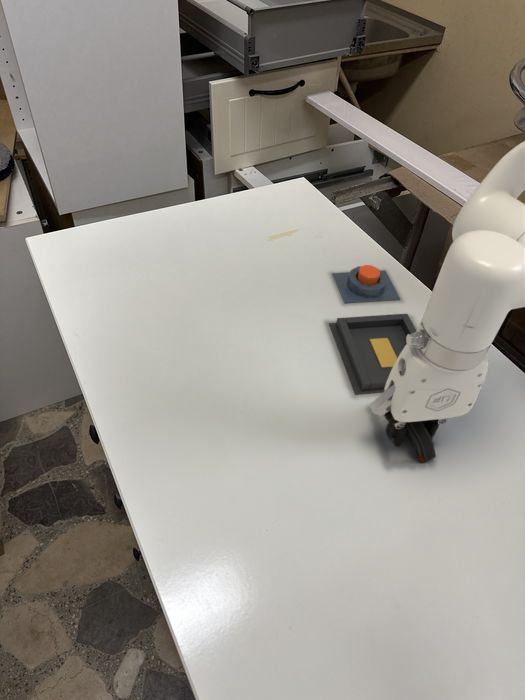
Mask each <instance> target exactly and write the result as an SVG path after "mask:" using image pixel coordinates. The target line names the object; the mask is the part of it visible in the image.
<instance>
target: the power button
mask: <svg viewBox="0 0 525 700" xmlns="http://www.w3.org/2000/svg"><path fill="white" fill-rule="evenodd" d="M360 266H361V265H360ZM379 270H380V269H379V268H378V267H376V266H374V265H372V264H371V265H370V264H365V265H362V266H361V267H360V269H359V272H358V276H357V279H358V281H359V282H361V283H362V284H366V285H375V284H377V283H378V280H379V276H380V271H381V270H380V271H379Z"/></svg>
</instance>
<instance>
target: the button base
mask: <svg viewBox="0 0 525 700" xmlns="http://www.w3.org/2000/svg"><path fill="white" fill-rule="evenodd" d="M360 267H361V265H359V266H356V267H353V268H352V269H351V270H350V271H347V272H333V273H331V275H332V278H333V280H334V283H335V285H336V287H337V290H338V292H339V295H340V296H341V299H342V301H343V303H344V304H361V303H377V302H391V301H392V302H393V301H394V302H395V301H401V297H400V295H399V293H398V292H397V290H396V287H395V286H394V283H393V282H392V280H391V278H390V276H389V274H388V272H387V271H386V270H385V269H384V270H380V269H379V271H380V276H379V280H378V283H377V284H375V285H366V284H362V283H361V282H359V281H358V279H357V276H358V272H359V269H360Z"/></svg>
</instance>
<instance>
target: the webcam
mask: <svg viewBox="0 0 525 700" xmlns="http://www.w3.org/2000/svg"><path fill="white" fill-rule="evenodd" d="M406 428H407V431H406V434H405V435H406V436H407V437H408V439H409V441H410V442H411V445H412V446H413V448H414V451H415V453H416V456H417V459H418V462H419V464H424V463H427V462H429V461H432V460H434V459H436V457H437V455H436V450H435V445H434V442H433V439H431V437H430V435H429V433H428V431H427V430H426V428H425V427H424V425H423V423H422V422H421V421H416V422H407V423H406Z"/></svg>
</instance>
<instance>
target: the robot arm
mask: <svg viewBox="0 0 525 700" xmlns="http://www.w3.org/2000/svg"><path fill="white" fill-rule="evenodd" d="M524 191H525V140H524V141H521V142H520V143H519V144H517V145H516V146H514V147H513V148H512V149H510V150H509V151H508V152H507V153H505V155H503V157H501V158H500V159H499V160H498V161H497V163H496V164H495V165H494V166H493V167H492V169H491V170H490V171H489V172H488V173H487V175H486V176H485V177H484V178H483V179H482V181H481V182H480V183H479V184H478V185H477V187H476V188H475V189H474V191H473V192H472V193H471V195H469V197H468V198H467V200H466V201H465V203H464V204H463V205H462V207H461V209H460V210H459V212H458V213H457V216H456V218H455V220H454V222H453V224H452V230H451V238H452V243H451V244H450V245H449V248H448V250H447V253H446V255H445V257H444V260H443V263H442V265H441V268H440V271H439V273H438V276H437V279H436V281H435V284H434V287H433V289H432V292H431V293H430V294H431V295H430V297H429V299H428V302H427V305H426V307H425V310H424V313H423V315H422V318H421V321H420V322H419V324H418V327H417V328H416V332H415V333H413V334H408V335H407V337H406V342H407V344H406V346H405V347H404V349H403V350H402V352H401V353H400V355H399V357H398V358H397V360H396V362H395V364H394V366H393V368H392V370H391V372H390V374H389V377H388V379H387V382H386V385H385V388H384V393H380V395H379V396H377V398H375V399H374V400H372V402H370V403H369V407H370V409H371V412H372V414H373V415H374V416H375V415H376V416H378V417H381V418H383V417H384V418H385V419H386V420H387V421H388V422H387V425H386V428H385V433H386V435H387V437H388V439H392V442H393V444H394V446H395V447H400V446H401V445H402V442H403V440H404V438H405V436H406V435H407V434H406V431H407V428H406V423H407V422H416V421H421V422H422V423H423V425H424V427H425V428H426V430H427V431H428V433H429V435H430V437H431V439H432V440H434V439H433V438H434V437H435V435H436V433H437V431H438V429H439V427H440V425H444V424H446V423H447V422H448V419H451V418H458V417H462V416H465V415H466V414H468V413H469V412H470V411H471V409H472V408H473V406H474V405H475V403H476V400H477V399H478V397H479V394H480V392H481V390H482V389H483V388H482V387H483V385H484V382H485V379H486V376H487V373H488V368H489V364H490V363H489V362H490V352H489V349H490V348H491V345H492V343H493V342H494V340H495V338H496V336H497V335H498V333H499V330H500V329H501V326H502V325H503V323H504V321H505V319H506V317H507V315H508V314H509V312H511V310H516V309H521V308H525V203H524V202H523V201H521V200H518V198H519V197H520V195H521V194H523V192H524Z"/></svg>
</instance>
